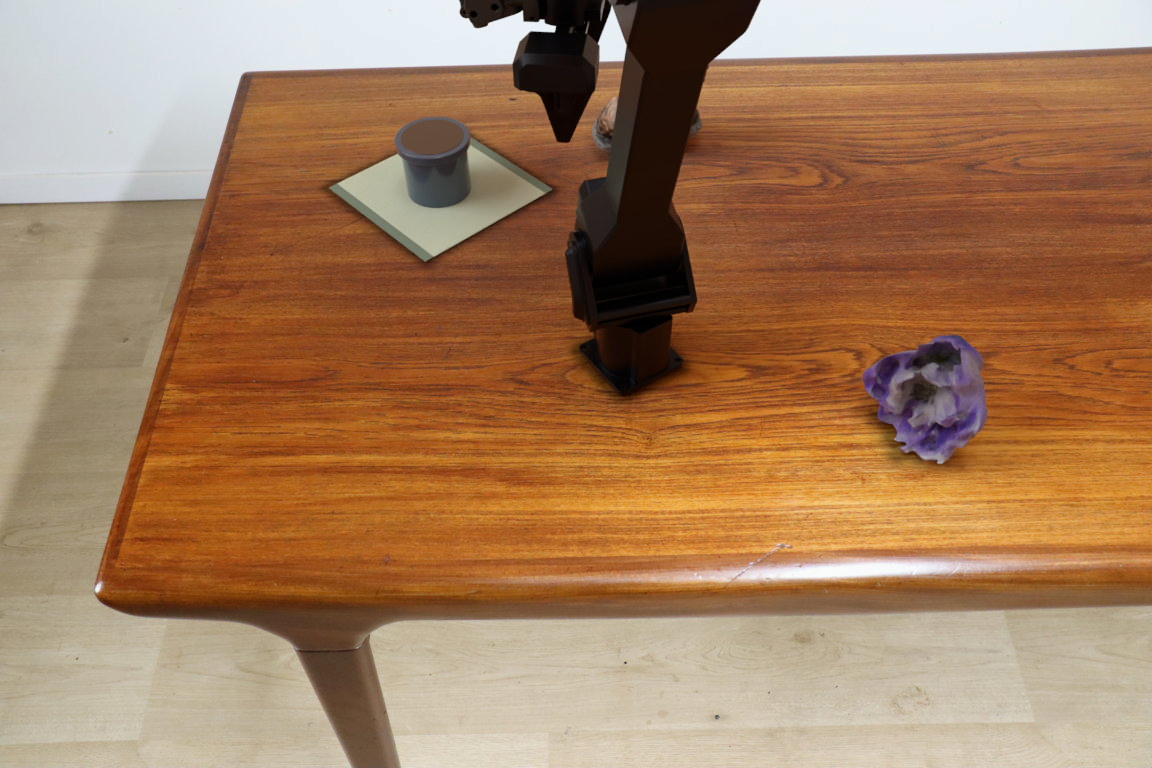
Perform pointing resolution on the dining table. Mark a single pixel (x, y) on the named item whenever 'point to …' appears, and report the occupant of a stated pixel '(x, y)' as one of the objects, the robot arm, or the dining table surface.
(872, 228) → the dining table surface
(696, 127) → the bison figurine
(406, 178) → the pot
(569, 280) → the robot arm
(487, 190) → the mat
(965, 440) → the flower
